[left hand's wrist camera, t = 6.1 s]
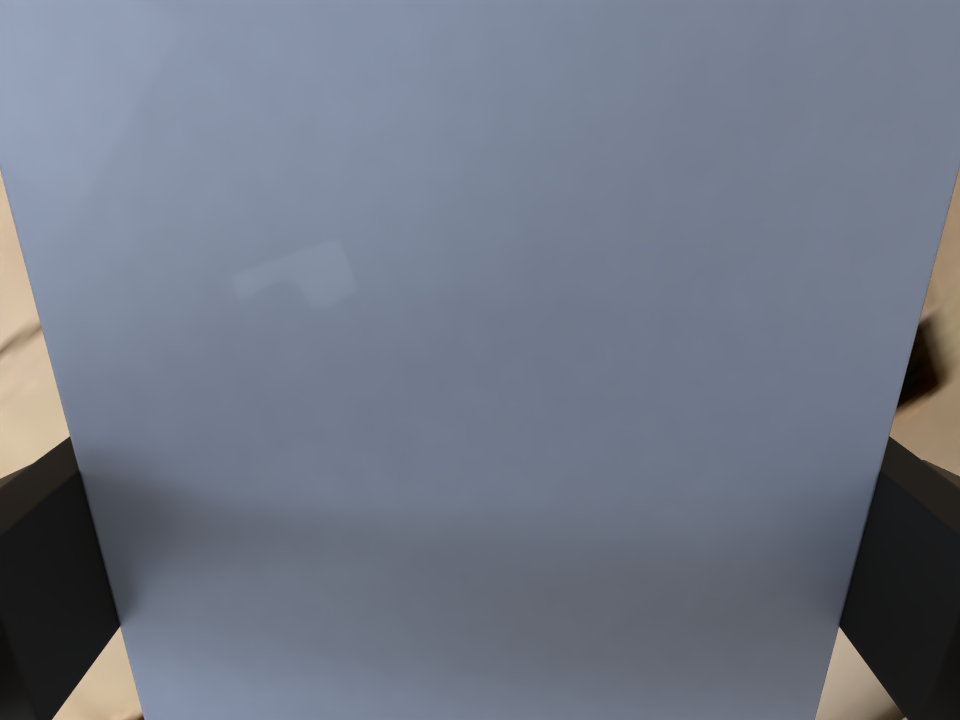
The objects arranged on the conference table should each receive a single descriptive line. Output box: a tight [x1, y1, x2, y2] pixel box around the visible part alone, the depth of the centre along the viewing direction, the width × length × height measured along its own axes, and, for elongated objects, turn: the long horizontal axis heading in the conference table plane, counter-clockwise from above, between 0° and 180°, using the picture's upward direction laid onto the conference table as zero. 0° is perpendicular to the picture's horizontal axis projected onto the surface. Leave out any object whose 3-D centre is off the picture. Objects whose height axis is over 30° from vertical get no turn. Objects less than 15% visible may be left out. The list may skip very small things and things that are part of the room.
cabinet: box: [0, 0, 960, 720], centre depth 11 cm, size 20×11×10 cm, turn 0°
